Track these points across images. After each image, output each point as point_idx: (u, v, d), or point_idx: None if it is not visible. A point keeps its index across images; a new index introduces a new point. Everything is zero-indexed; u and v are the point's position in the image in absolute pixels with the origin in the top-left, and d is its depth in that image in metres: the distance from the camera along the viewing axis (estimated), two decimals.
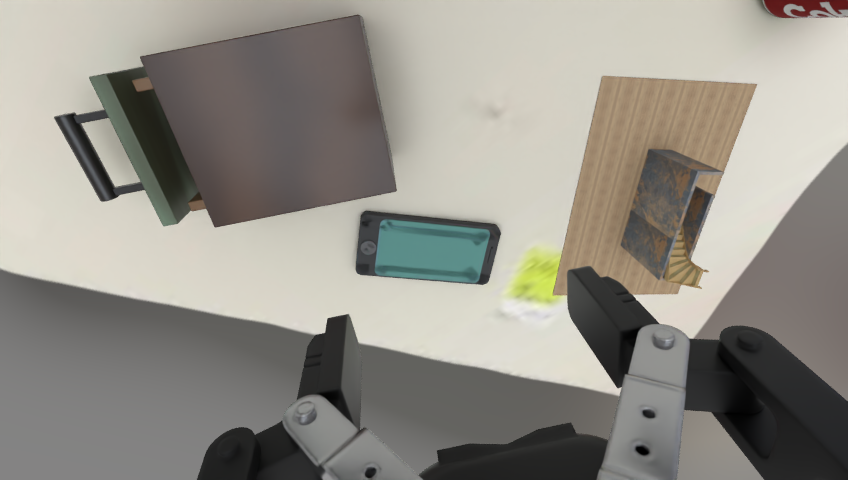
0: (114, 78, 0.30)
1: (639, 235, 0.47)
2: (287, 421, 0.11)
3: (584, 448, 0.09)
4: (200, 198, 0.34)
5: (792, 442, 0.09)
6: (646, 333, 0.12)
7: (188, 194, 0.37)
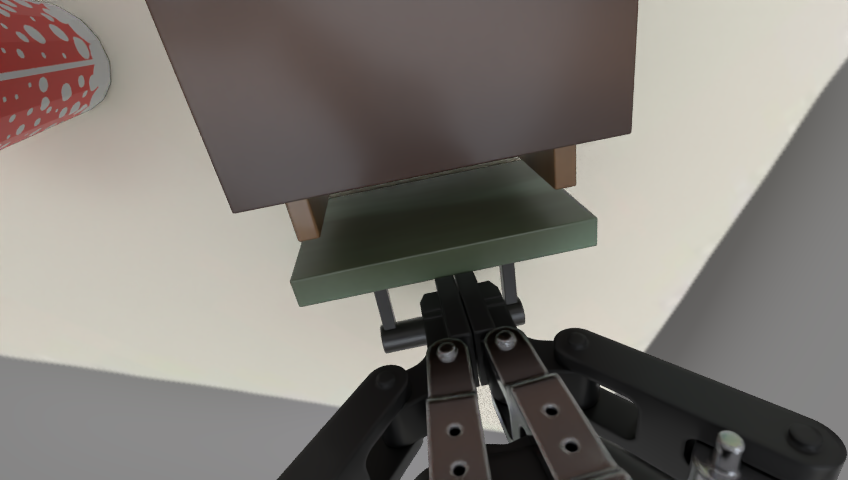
0: (302, 268, 0.16)
1: None
2: (431, 350, 0.12)
3: None
4: (549, 163, 0.15)
5: (655, 416, 0.10)
6: (493, 335, 0.12)
7: (533, 191, 0.19)
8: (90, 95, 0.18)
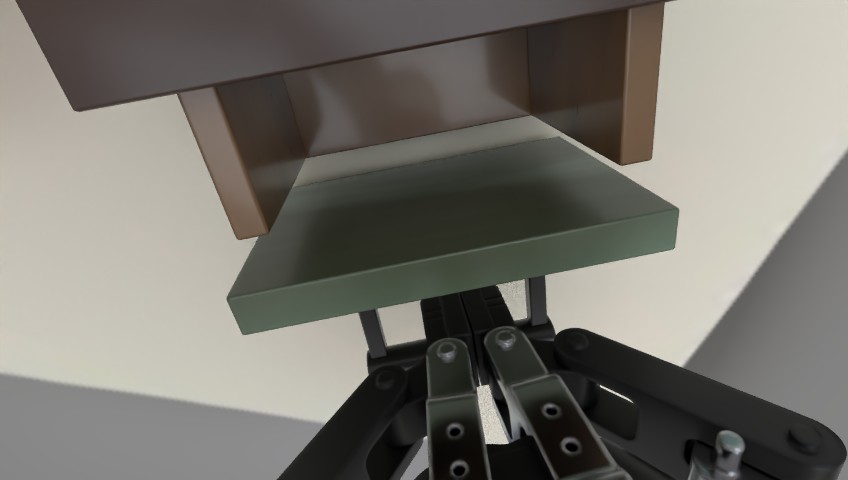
0: (248, 278, 0.11)
1: None
2: (431, 350, 0.12)
3: None
4: (613, 125, 0.10)
5: (655, 416, 0.10)
6: (493, 335, 0.12)
7: (574, 174, 0.14)
8: None
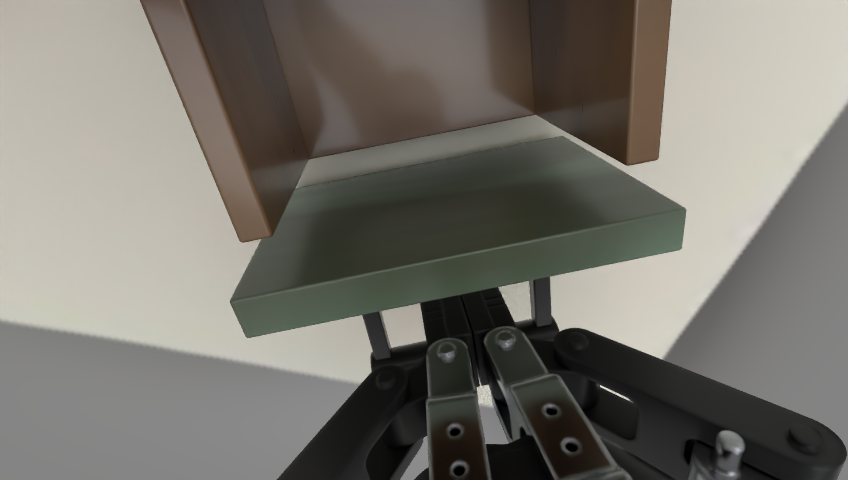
0: (252, 281, 0.11)
1: None
2: (431, 350, 0.12)
3: None
4: (619, 125, 0.10)
5: (654, 416, 0.10)
6: (493, 335, 0.12)
7: (579, 174, 0.14)
8: None
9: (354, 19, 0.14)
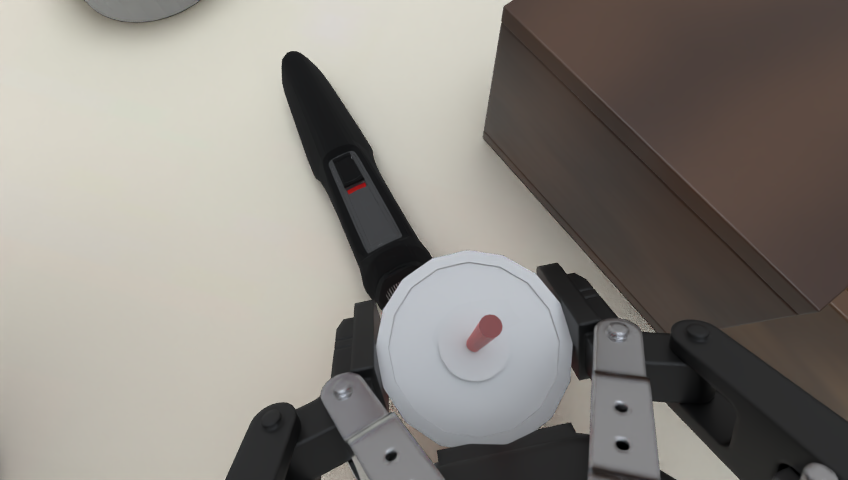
0: None
1: None
2: (325, 394, 0.12)
3: (584, 448, 0.09)
4: None
5: (752, 427, 0.09)
6: (602, 327, 0.12)
7: None
8: None
9: None
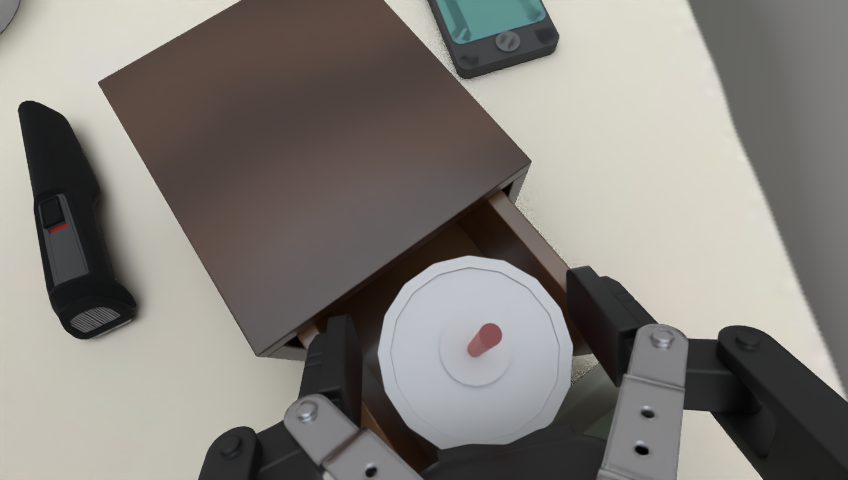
0: None
1: None
2: (288, 420, 0.11)
3: (584, 448, 0.09)
4: None
5: (791, 441, 0.09)
6: (645, 333, 0.12)
7: None
8: None
9: None
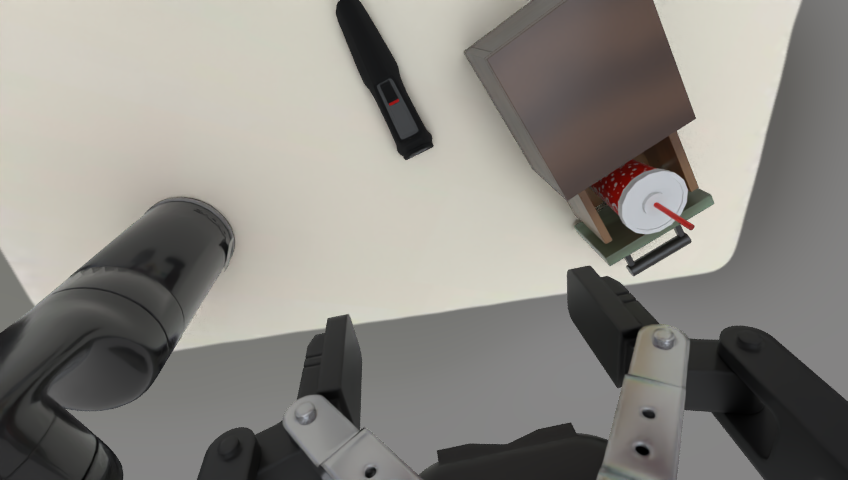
0: (605, 252, 0.44)
1: None
2: (287, 421, 0.11)
3: (584, 448, 0.09)
4: (685, 183, 0.41)
5: (792, 441, 0.09)
6: (646, 333, 0.12)
7: None
8: None
9: None
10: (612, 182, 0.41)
